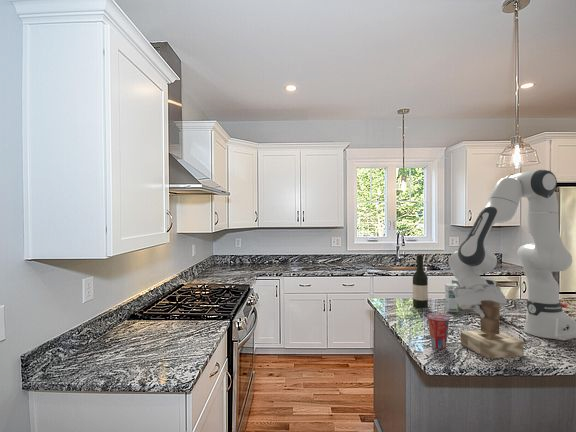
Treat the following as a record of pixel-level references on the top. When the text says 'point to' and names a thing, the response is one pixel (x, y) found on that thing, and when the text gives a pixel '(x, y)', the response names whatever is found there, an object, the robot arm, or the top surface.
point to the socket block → (492, 344)
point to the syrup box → (451, 298)
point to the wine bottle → (420, 285)
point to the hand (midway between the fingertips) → (491, 316)
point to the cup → (438, 330)
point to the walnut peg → (490, 317)
